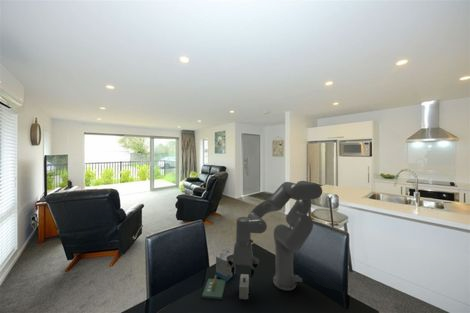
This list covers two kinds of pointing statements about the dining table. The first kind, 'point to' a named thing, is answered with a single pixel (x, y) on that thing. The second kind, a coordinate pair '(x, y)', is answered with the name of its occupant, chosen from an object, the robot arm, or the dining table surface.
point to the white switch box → (244, 286)
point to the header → (214, 288)
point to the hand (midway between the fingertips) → (242, 274)
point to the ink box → (223, 266)
